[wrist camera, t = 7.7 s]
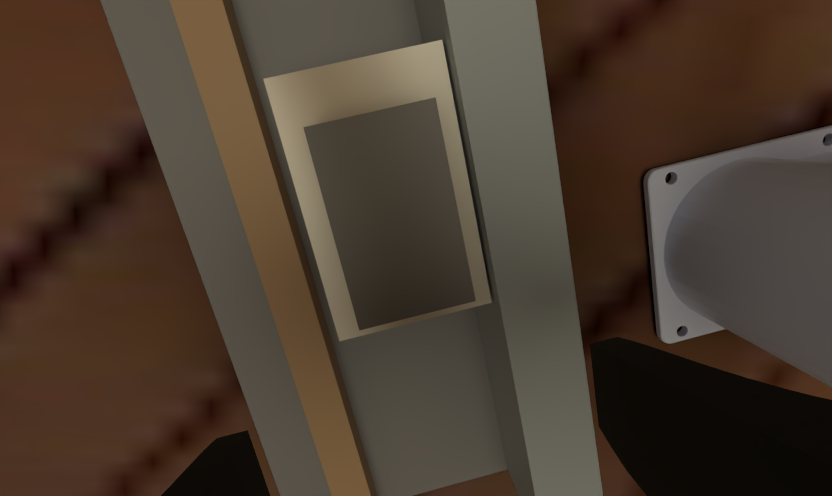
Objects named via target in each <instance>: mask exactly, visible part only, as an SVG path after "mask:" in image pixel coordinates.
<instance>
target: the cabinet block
mask: <svg viewBox="0 0 832 496" xmlns="http://www.w3.org/2000/svg"><path fill="white" fill-rule="evenodd" d="M263 80H264V83H265V86H266V90H267V93H268V97H269V100H270V104H271V107H272V111H273V114H274V117H275V121H276V124H277V128H278V131H279V135H280V138H281V142H282V145H283V148H284V152H285V155H286V159H287V162H288V166H289V169H290V173H291V176H292V180H293V183H294V186H295V190H296V193H297V197H298V200H299V204H300V207H301V211H302V214H303V217H304V221H305V224H306V228H307V231H308V235H309V238H310V242H311V245H312V248H313V252H314V255H315V259H316V262H317V266H318V269H319V273H320V276H321V280H322V283H323V286H324V290H325V293H326V297H327V300H328V304H329V307H330V311H331V314H332V317H333V321H334V324H335V328H336V331H337V335H338V338H339V341H343V340H347V339H351V338H355V337H359V336H363V335H367V334H371V333H375V332H379V331H382V330H386V329H390V328H394V327H398V326H402V325H406V324H410V323H414V322H418V321H422V320H426V319H430V318H433V317H437V316H441V315H445V314H449V313H453V312H457V311H461V310H465V309H469V308H473V307H477V306H481V305H485V304H488V303H492V301H491V296H490V290H489V285H488V280H487V274H486V269H485V264H484V259H483V253H482V248H481V243H480V237H479V232H478V227H477V221H476V216H475V211H474V205H473V200H472V195H471V190H470V184H469V179H468V174H467V168H466V163H465V158H464V152H463V147H462V142H461V136H460V131H459V126H458V121H457V115H456V110H455V105H454V99H453V94H452V89H451V83H450V78H449V73H448V67H447V62H446V57H445V52H444V46H443V41H442V40H438V41H434V42H429V43H425V44H420V45H415V46H411V47H406V48H402V49H397V50H393V51H388V52H383V53H379V54H374V55H370V56H365V57H361V58H356V59H352V60H347V61H342V62H338V63H333V64H329V65H324V66H320V67H315V68H311V69H306V70H301V71H297V72H292V73H288V74H283V75H279V76H274V77H270V78H265V79H263Z"/></svg>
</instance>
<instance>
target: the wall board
mask: <svg viewBox="0 0 832 496" xmlns="http://www.w3.org/2000/svg"><path fill="white" fill-rule="evenodd" d="M101 3H102V6H103V9H104V11H105V14H106V17H107V20H108V22H109V25H110V28H111V31H112V33H113V36H114V39H115V42H116V44H117V47H118V50H119V53H120V55H121V58H122V61H123V64H124V66H125V69H126V72H127V75H128V77H129V80H130V83H131V86H132V88H133V91H134V94H135V97H136V99H137V102H138V105H139V108H140V110H141V113H142V116H143V119H144V121H145V124H146V127H147V130H148V132H149V135H150V138H151V141H152V143H153V146H154V149H155V152H156V154H157V157H158V160H159V163H160V165H161V168H162V171H163V174H164V176H165V179H166V182H167V185H168V187H169V190H170V193H171V196H172V198H173V201H174V204H175V207H176V209H177V212H178V215H179V218H180V220H181V223H182V226H183V229H184V231H185V234H186V237H187V240H188V242H189V245H190V248H191V251H192V253H193V256H194V259H195V262H196V264H197V267H198V270H199V273H200V275H201V278H202V281H203V284H204V286H205V289H206V292H207V295H208V297H209V300H210V303H211V306H212V308H213V311H214V314H215V317H216V319H217V322H218V325H219V328H220V330H221V333H222V336H223V339H224V341H225V344H226V347H227V350H228V352H229V355H230V358H231V361H232V363H233V366H234V369H235V372H236V374H237V377H238V380H239V383H240V385H241V388H242V391H243V394H244V396H245V399H246V402H247V405H248V407H249V410H250V413H251V416H252V418H253V421H254V424H255V427H256V429H257V432H258V435H259V438H260V440H261V443H262V446H263V449H264V451H265V454H266V457H267V460H268V462H269V465H270V468H271V471H272V473H273V476H274V479H275V482H276V484H277V487H278V490H279V493H280V495H281V496H413V495H417V494H420V493H424V492H427V491H431V490H435V489H438V488H442V487H445V486H449V485H453V484H456V483H460V482H464V481H467V480H471V479H474V478H478V477H482V476H485V475H489V474H492V473H496V472H500V471H503V470H507V469H508V472H509V474H510V476H511V478H512V481H513V483H514V485H515V488H516V490H517V492H518V494H519V496H603V492H602V485H601V478H600V470H599V463H598V456H597V448H596V441H595V433H594V426H593V419H592V411H591V404H590V397H589V389H588V382H587V375H586V367H585V360H584V353H583V345H582V338H581V331H580V323H579V316H578V309H577V301H576V294H575V286H574V279H573V272H572V264H571V257H570V250H569V242H568V235H567V228H566V220H565V213H564V206H563V198H562V191H561V184H560V176H559V169H558V162H557V154H556V147H555V139H554V132H553V125H552V117H551V110H550V103H549V95H548V88H547V81H546V73H545V66H544V59H543V51H542V44H541V37H540V29H539V22H538V15H537V7H536V0H101ZM438 40H442V41H443V46H444V52H445V57H446V62H447V67H448V73H449V78H450V83H451V89H452V94H453V99H454V105H455V110H456V115H457V121H458V126H459V131H460V136H461V142H462V147H463V152H464V158H465V163H466V168H467V174H468V179H469V184H470V190H471V195H472V200H473V205H474V211H475V216H476V221H477V227H478V232H479V237H480V243H481V248H482V253H483V259H484V264H485V269H486V274H487V280H488V285H489V290H490V296H491V301H492V303H488V304H485V305H481V306H477V307H473V308H469V309H465V310H461V311H457V312H453V313H449V314H445V315H441V316H437V317H433V318H430V319H426V320H422V321H418V322H414V323H410V324H406V325H402V326H398V327H394V328H390V329H386V330H382V331H379V332H375V333H371V334H367V335H363V336H359V337H355V338H351V339H347V340H343V341H339V338H338V335H337V331H336V328H335V324H334V321H333V317H332V314H331V311H330V307H329V304H328V300H327V297H326V293H325V290H324V286H323V283H322V280H321V276H320V273H319V269H318V266H317V262H316V259H315V255H314V252H313V248H312V245H311V242H310V238H309V235H308V231H307V228H306V224H305V221H304V217H303V214H302V211H301V207H300V204H299V200H298V197H297V193H296V190H295V186H294V183H293V180H292V176H291V173H290V169H289V166H288V162H287V159H286V155H285V152H284V148H283V145H282V142H281V138H280V135H279V131H278V128H277V124H276V121H275V117H274V114H273V111H272V107H271V104H270V100H269V97H268V93H267V90H266V86H265V83H264V80H263V79H265V78H270V77H274V76H279V75H283V74H288V73H292V72H297V71H301V70H306V69H311V68H315V67H320V66H324V65H329V64H333V63H338V62H342V61H347V60H352V59H356V58H361V57H365V56H370V55H374V54H379V53H383V52H388V51H393V50H397V49H402V48H406V47H411V46H415V45H420V44H425V43H429V42H434V41H438Z"/></svg>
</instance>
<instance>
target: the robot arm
mask: <svg viewBox="0 0 832 496" xmlns="http://www.w3.org/2000/svg"><path fill="white" fill-rule="evenodd" d="M824 137H825V142H824V143H823V138H824ZM668 173H671V180H670V181H669V182H668V183H666V181H665V178H666V175H667V174H668ZM643 185H644V196H645V207H646V219H647V230H648V242H649V253H650V264H651V276H652V287H653V298H654V310H655V321H656V332H657V336H658V338H659V339H660V340H662V341H663V342H665V343H667V344H669V343H675V342H679V341H682V340H686V339H690V338H694V337H697V336H701V335H705V334H709V333H712V332H716V331H720V330H724V329H727V330H729V331H731V332H732V333H734V334H736V335H738V336H740V337H741V338H743V339H745V340H747V341H749V342H750V343H752V344H754V345H756V346H758V347H759V348H761V349H763V350H765V351H767V352H768V353H770V354H772V355H774V356H776V357H777V358H779V359H781V360H783V361H785V362H786V363H788V364H790V365H792V366H794V367H795V368H797V369H799V370H801V371H803V372H805V373H806V374H808V375H810V376H812V377H814V378H815V379H817V380H819V381H821V382H823V383H824V384H826V385H828V386H830V387H832V125H830V126H826V127H822V128H818V129H814V130H810V131H805V132H801V133H797V134H793V135H789V136H785V137H781V138H777V139H772V140H768V141H764V142H760V143H756V144H752V145H748V146H744V147H740V148H735V149H731V150H727V151H723V152H719V153H715V154H711V155H707V156H702V157H698V158H694V159H690V160H686V161H682V162H678V163H674V164H670V165H665V166H661V167H657V168H653V169H651V170H649V171H648V172H647V173H646V175H645V177H644V181H643ZM680 326H682V329H681V330H680V331H679V332H677V329H678V328H679V327H680ZM590 350H591V359H592V368H593V377H594V386H595V395H596V404H597V413H598V423H599V427H600V429H601V431H602V432H603V434H604V436H605V437H606V439H607V441H608V442H609V444H610V445H611V447H612V449H613V450H614V452H615V453H616V455H617V457H618V458H619V460H620V461H621V463H622V464H623V466H624V467H625V469H626V470H627V471H628V473H629V474H630V475H631V476H632V478H633V479H634V480H635V481H636V483H637V484H638V485H639V486H640V488H641V489H642V490H643V491H644V493H645V494H646V495H647V496H832V400H829V399H824V398H820V397H815V396H811V395H807V394H803V393H799V392H795V391H791V390H787V389H784V388H780V387H777V386H773V385H770V384H766V383H762V382H759V381H755V380H752V379H748V378H745V377H742V376H738V375H735V374H732V373H729V372H725V371H722V370H719V369H716V368H713V367H710V366H707V365H704V364H701V363H698V362H695V361H692V360H689V359H686V358H683V357H680V356H677V355H674V354H671V353H668V352H665V351H662V350H659V349H656V348H653V347H650V346H647V345H644V344H641V343H637V342H634V341H631V340H627V339H623V338H619V337H616V338H612V339H608V340H604V341H600V342H596V343H592V344H590ZM161 496H270V494H269V491H268V488H267V485H266V482H265V479H264V476H263V474H262V471H261V468H260V465H259V462H258V459H257V456H256V453H255V450H254V448H253V445H252V442H251V439H250V436H249V433H248V431H244V432H240V433H236V434H232V435H228V436H224V437H220V438H217V439H216V440H215V441H213V442H212V443H211V444H210V445H209V446H208V447H207V448H206V449H205V450H204V451H203V452H202V453H201V454H200V455H199V456H198V457H197V458H196V459H195V460H194V461H193V462H192V464H191V465H190V466H189V467H188V468H187V469H186V470H185V471H184V472H183V473H182V474H181V475H180V476H179V477H178V478H177V480H176V481H175V482H174V483H173V484H172V485H171V486H170V487H169V488H168V489H167V490H166V491H165V492H164V493H163V494H162V495H161Z"/></svg>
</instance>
